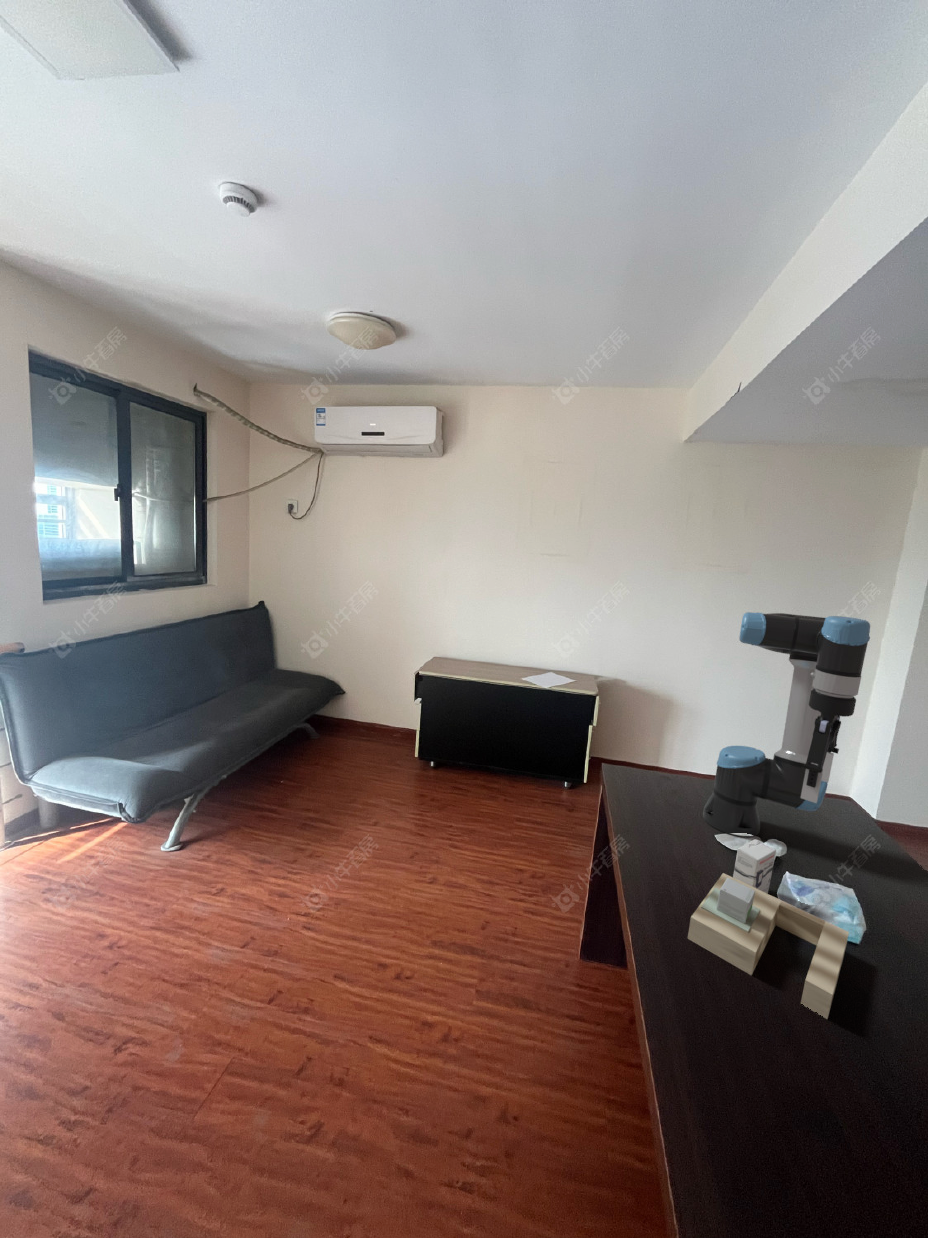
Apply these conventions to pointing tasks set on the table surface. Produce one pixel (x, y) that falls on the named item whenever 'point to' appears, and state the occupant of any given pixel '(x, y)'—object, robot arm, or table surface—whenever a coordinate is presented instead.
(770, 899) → the board
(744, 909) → the small box
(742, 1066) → the table surface
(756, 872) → the ink box
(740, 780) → the robot arm
